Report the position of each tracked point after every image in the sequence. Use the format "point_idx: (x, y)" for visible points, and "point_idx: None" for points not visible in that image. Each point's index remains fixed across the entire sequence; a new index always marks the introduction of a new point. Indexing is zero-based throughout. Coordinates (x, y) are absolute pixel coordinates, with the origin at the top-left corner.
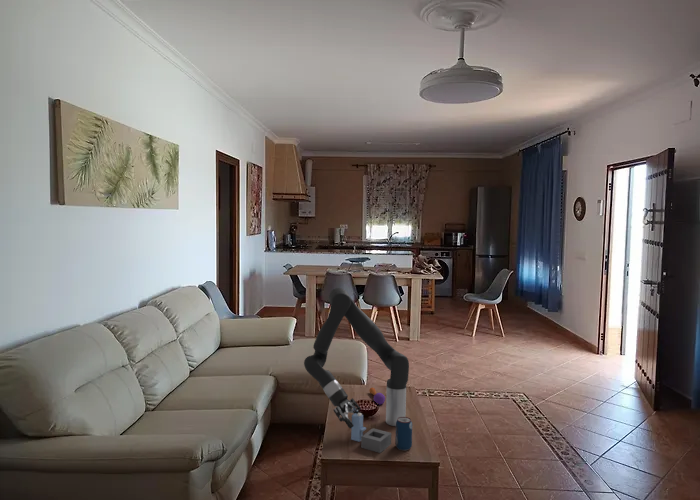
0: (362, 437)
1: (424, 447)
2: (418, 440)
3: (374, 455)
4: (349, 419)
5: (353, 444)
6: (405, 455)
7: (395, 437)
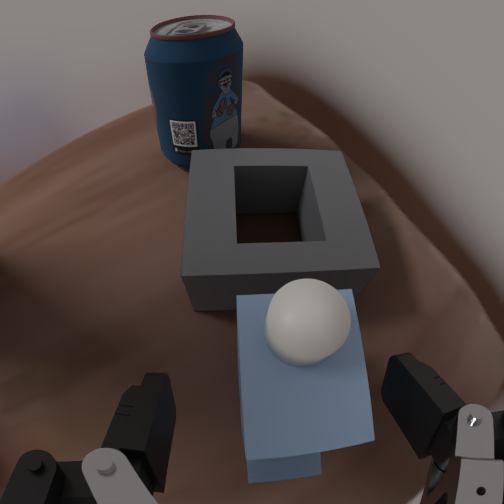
0: (376, 261)
1: None
2: (107, 143)
3: (363, 207)
4: (438, 401)
5: None
6: (266, 126)
7: (219, 132)
